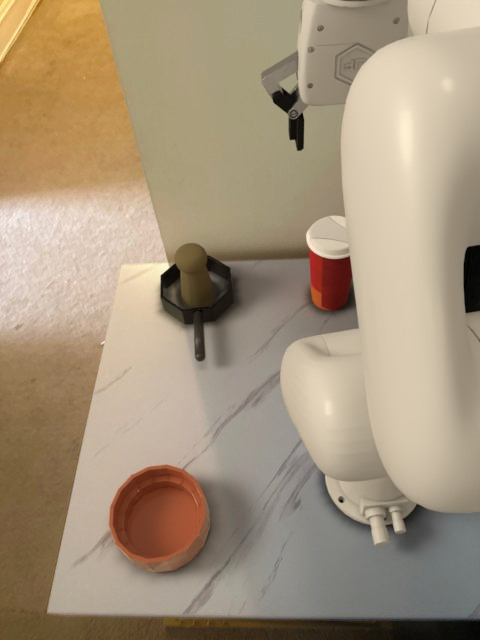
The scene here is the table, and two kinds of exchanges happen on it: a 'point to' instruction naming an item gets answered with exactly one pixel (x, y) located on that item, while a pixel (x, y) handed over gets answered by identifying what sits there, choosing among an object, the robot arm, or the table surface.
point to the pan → (201, 313)
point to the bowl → (160, 518)
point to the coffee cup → (329, 262)
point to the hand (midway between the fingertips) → (341, 138)
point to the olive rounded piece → (194, 276)
